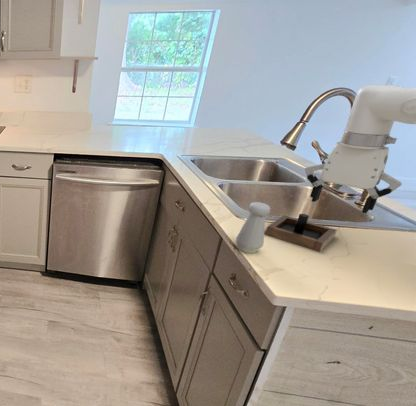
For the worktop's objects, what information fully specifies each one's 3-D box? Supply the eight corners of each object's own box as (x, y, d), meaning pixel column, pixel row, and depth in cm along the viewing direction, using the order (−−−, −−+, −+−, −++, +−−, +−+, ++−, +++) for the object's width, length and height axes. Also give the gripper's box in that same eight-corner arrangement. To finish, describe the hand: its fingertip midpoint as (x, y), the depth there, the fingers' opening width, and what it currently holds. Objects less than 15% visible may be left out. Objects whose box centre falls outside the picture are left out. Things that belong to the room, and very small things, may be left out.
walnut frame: (333, 237, 100) (337, 229, 99) (319, 251, 94) (322, 243, 93) (281, 222, 109) (283, 215, 108) (264, 234, 103) (267, 226, 102)
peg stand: (320, 236, 101) (328, 216, 98) (310, 245, 97) (318, 224, 94) (285, 226, 107) (291, 206, 105) (274, 234, 103) (280, 214, 100)
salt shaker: (251, 243, 98) (264, 199, 93) (266, 254, 93) (281, 208, 88) (229, 243, 99) (241, 199, 94) (242, 255, 93) (256, 209, 88)
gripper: (421, 143, 82) (391, 212, 88) (321, 132, 95) (301, 193, 102) (414, 148, 78) (383, 220, 84) (311, 136, 91) (291, 199, 98)
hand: (339, 205), depth 93 cm, fingers open, 9 cm apart
